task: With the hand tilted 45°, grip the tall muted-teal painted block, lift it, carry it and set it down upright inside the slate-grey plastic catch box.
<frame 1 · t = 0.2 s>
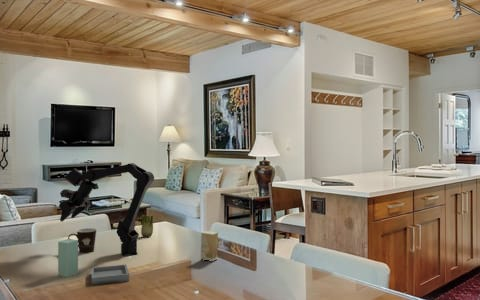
hand: (66, 219, 190), 15 cm above the table, tool tilted 35°, fingers open, 9 cm apart
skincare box: (209, 260, 176), on the table
coffee mug: (83, 251, 189), on the table
fennel bulb: (146, 237, 220), on the table
teal block: (68, 274, 156), on the table
catch box: (109, 277, 152), on the table
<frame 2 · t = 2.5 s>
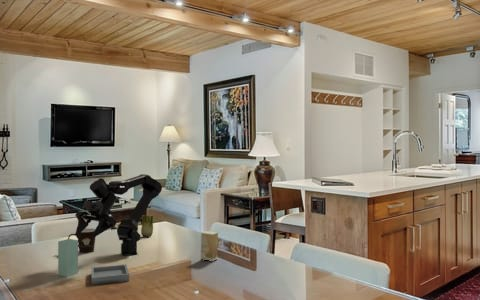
hand: (84, 236, 162), 13 cm above the table, tool tilted 45°, fingers open, 9 cm apart
nothing on the table moved.
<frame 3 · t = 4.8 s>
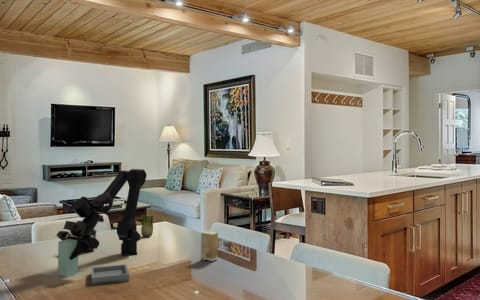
hand: (65, 258, 154), 7 cm above the table, tool tilted 45°, fingers closed on teal block, 5 cm apart
teal block: (68, 274, 156), on the table, touching gripper
everything else where it was.
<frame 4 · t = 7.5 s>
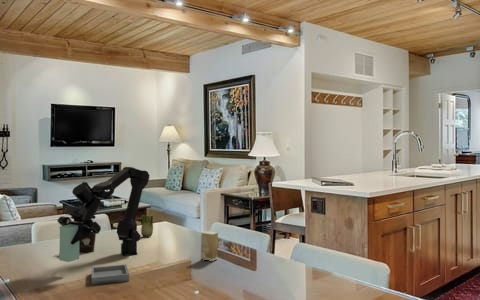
hand: (66, 243, 154), 12 cm above the table, tool tilted 45°, fingers closed on teal block, 5 cm apart
teal block: (69, 259, 155), point 6 cm above the table, touching gripper
everything else where it was.
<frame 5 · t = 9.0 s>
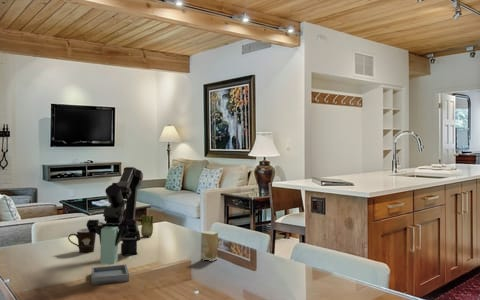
hand: (108, 245, 151), 12 cm above the table, tool tilted 45°, fingers closed on teal block, 5 cm apart
teal block: (108, 262, 152), point 6 cm above the table, touching gripper
everything else where it was.
when the fingers open (9 cm above the table, at t = 10.2 s): teal block drops 1 cm, resting on catch box.
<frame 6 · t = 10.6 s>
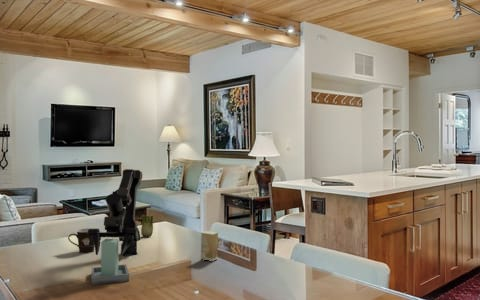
hand: (108, 254, 151), 9 cm above the table, tool tilted 45°, fingers open, 9 cm apart
teal block: (109, 274, 152), point 1 cm above the table, touching catch box
everything else where it was.
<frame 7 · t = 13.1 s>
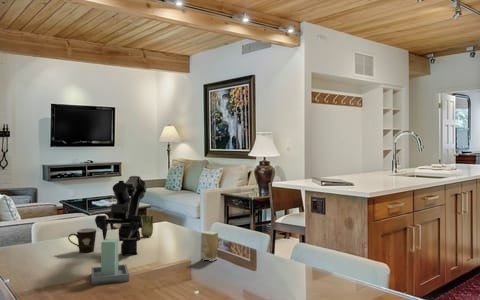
hand: (115, 239, 161), 12 cm above the table, tool tilted 45°, fingers open, 9 cm apart
nothing on the table moved.
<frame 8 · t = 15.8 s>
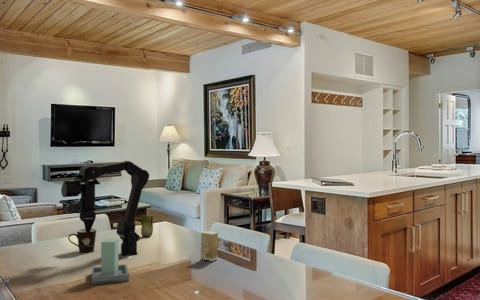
hand: (87, 231, 172), 13 cm above the table, tool pointing down, fingers open, 9 cm apart
nothing on the table moved.
at the end: teal block inside the target area on the catch box (0.0 cm from its centre), point 1.0 cm above the catch box's base; teal block tilted 0°; the gripper is holding nothing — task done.
